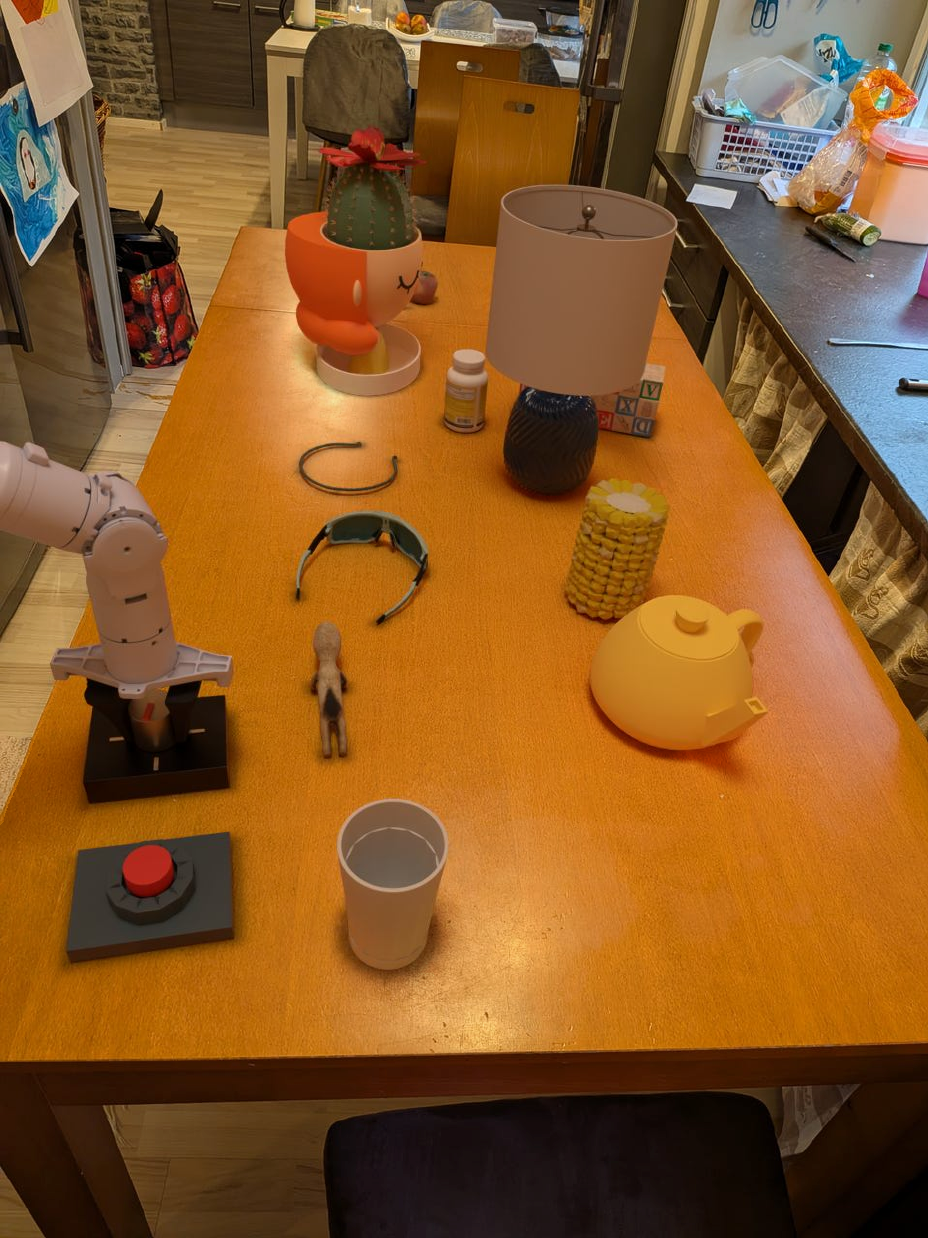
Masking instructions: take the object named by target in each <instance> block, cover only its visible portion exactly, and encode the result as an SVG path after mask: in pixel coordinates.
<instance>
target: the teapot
mask: <svg viewBox="0 0 928 1238" xmlns="http://www.w3.org/2000/svg"><path fill="white" fill-rule="evenodd" d="M740 630H742V631H741V633H740ZM763 630H764V621H763V619H762V618H761V617H760V615H759V614H758V613H756V612H755V611H753V610H751V609H747V608H741V609H738V610H735V611H733V612H731V613H729V614H728V615H727V613H725V612H724V611H722V610H721V609H720V608H718V607H717V606H716V605H713V604H712V603H711V602H710V603H709V602H707V601H705V600H703V599H700V598H697V597H694V596H689V595H682V594H681V595H679V594H672V595H671V594H668V595H663V596H662V595H661V596H658V597H654V598H652V599H650V600H648V601H646V602H643V603H642V604H641V605H640V606H639V607H637V608H636V609H634V610H633V611H631V612H630V613H628V614H627V615H625V616H624V617H623V618H620V619H619V620H618V621H617V622H616V623H614V625H612V626H611V628H610V629H609V630H608V631H607V632H606V634H605V635H604V636H603V638H602V639H601V641H600V642H599V644H598V646H597V648H596V650H595V651H594V654H593V657H592V659H591V663H590V666H589V672H588V673H589V674H588V677H589V679H588V680H589V685H590V690H591V692H592V695H593V697H594V700H595V702H596V703H597V705H598V706H599V708H600V710H602V712H603V714H604V715H606V717H607V718H608V719H609V720H610V721H611V722H612V723H613V724H614V725H615V726H616V727H617V728H618V729H620V730H621V731H622V732H623V733H625V734H626V735H628V736H629V737H631V738H632V739H634V740H636V741H638V742H640V743H642V744H645V745H647V746H651V747H654V748H657V749H663V750H669V751H693V750H699V749H705V748H708V747H712V746H716V745H718V744H721V743H726V742H730V741H733V740H735V739H737V738H738V737H739V736H741V735H742V734H744V732H746V731H747V730H748V729H750V728H751V727H752V726H754V725H755V724H756V723H757V722H758V721H759V720H761V719H762V718H763V717H765V716H766V715H767V714H768V713H769V710H768V709H767V708H766V707H765V706H764V704H763V703H762V702H761V700H760V699H759V698H758V696H753V691H754V689H753V688H754V680H753V669H752V667H753V666H754V663H755V656H754V653H753V650H754V648H755V646H756V644H757V643H758V641H759V639H760V637H761V636H762V633H763Z"/></svg>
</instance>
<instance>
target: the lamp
mask: <svg viewBox="0 0 928 1238" xmlns="http://www.w3.org/2000/svg"><path fill="white" fill-rule="evenodd" d="M498 218H499V219H498V226H497V235H496V236H497V237H496V246H495V255H494V265H493V275H492V283H491V292H490V293H491V294H490V304H489V311H488V312H489V313H488V320H487V321H488V322H487V331H486V342H485V358H486V359H487V361H488V363H489V364H490V365H491V367H492V368H494V369H495V370H496V371H497V372H499V373H500V374H501V375H503V376H504V377H506V378H509V379H510V380H511V381H514V382H516V383H518V384H520V383H521V384H523V385H526V386H528V387H526V388H525V389H523V390H522V391H521V393H520V394H519V393H518V396H517V398H516V400H515V401H514V403H513V406H512V408H511V410H510V413H509V416H508V420H507V425H506V429H505V432H504V439H503V447H502V455H503V457H502V458H503V464H504V468H505V470H506V472H507V475H509V476H510V478H511V480H513V482H514V483H516V484H517V485H518V486H519V487H521V488H522V489H526V491H530V493H535V494H536V495H541V496H547V497H551V496H561V495H565V494H568V493H571V492H573V491H574V490H576V489H578V488H579V487H581V486H582V485H583V484H584V483H585V482H586V480H587V479H588V477H589V476H590V474H591V472H592V469H593V465H594V464H595V458H596V455H597V448H598V441H599V431H600V430H599V428H598V427H599V423H598V412H597V408H596V404H595V402H594V400H593V398H592V397H590V396H591V395H604V394H610V393H615V392H619V391H622V390H625V389H628V388H630V387H632V386H633V385H635V384H636V383H637V382H638V381H640V379H641V378H642V376H643V373H644V369H645V364H647V359H648V356H649V351H650V347H651V343H652V338H653V333H654V330H655V325H656V320H657V316H658V312H659V307H660V303H661V298H662V294H663V290H664V285H665V281H666V276H667V272H668V268H669V263H670V259H671V254H672V250H673V246H674V242H675V237H676V233H677V228H678V220H677V218H676V217H675V215H674V214H673V213H672V212H670V210H668V209H666V208H665V207H663V206H661V205H659V204H657V203H655V202H653V201H651V200H648V199H645V198H642V197H640V196H636V195H632V194H629V193H624V192H621V191H616V190H611V189H606V188H600V187H593V186H585V185H574V184H539V185H530V186H525V187H520V188H516V189H513V190H511V191H509V192H507V193H506V194H504V195H503V196H502V198H501V199H500V207H499V217H498Z"/></svg>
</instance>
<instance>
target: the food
mask: <svg viewBox="0 0 928 1238" xmlns="http://www.w3.org/2000/svg"><path fill="white" fill-rule="evenodd" d="M669 510H670V505H669V504H668V503H667V502H666V495H663V494H659V493H657V490H656V489H654V488H653V487H647V486H646V485H644V484H643V483H642V482H636V483H632V482H630V481H629V480H628V479H625V480H621V481H620V480H619V479H617V477H614V478H610V479H608V480H605V479H602V480H600V482H598V483H597V484H596V485H595V486H594V485H590V488H589V489H588V491H587V494H586V496H585V504H584V505H583V508H582V510H581V518H580V520H579V528H578V529H577V531H576V536H575V544H574V546H573V547H572V550H573V552H572V554H571V559H570V561H571V564H570V566H569V568H568V569H569V571H568V573H567V578H565V580H566V586H565V590H564V591H565V592H566V595H567V599H568V600H569V602H570V604H571V605H575V608H576V611H577V613H579V614H586V615H588V616H589V617H590V618H592V619H593V618H597V617H599V618H600V619H602V620H603V621H606V620H609V619H611V618H613V617H614V618H615V619H622V618H623V617H624V616H625V615H627V614H628V613H630V612H631V611H633V610H634V609H636V608H637V607H639V606H640V605H642V604H644V599H645V598H646V594H647V593H648V589H649V588H650V586H651V580H652V578H653V575H654V574H653V571H654V570H655V565H656V564H657V561H658V559H659V558H658V555H659V550H660V547H661V544H662V542H663V538H664V535H665V531H666V527H667V525H668V523H667V521H668V519H669V513H668V512H669Z"/></svg>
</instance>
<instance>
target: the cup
mask: <svg viewBox="0 0 928 1238" xmlns="http://www.w3.org/2000/svg"><path fill="white" fill-rule="evenodd" d="M449 851H450V841H449V835H448V831H447V830H446V828H445V826H444V823H442V821H441V820H440V818H439V817H438V816H437V815H436V814H435V813H434V812H433V811H431V810H430V809H429V808H427V807H426V806H424V805H422V804H421V803H418V802H415V801H412V800H410V799H409V800H408V799H403V798H383V799H382V798H381V799H378V800H373V801H370V802H368V803H365V804H363V805H362V806H360V807H359V808H357V809H356V810H353V812H352V813H351V814H349V816H348V817H347V818H346V819H345V821H344V822H343V823H342V825H341V827H340V829H339V832H338V835H337V839H336V852H337V853H336V854H337V858H338V865H339V870H340V875H341V877H340V878H341V881H342V887H343V888H342V889H343V894H344V901H345V902H344V903H345V909H346V915H347V916H346V917H347V923H348V942H349V945H350V947H351V949H352V950H351V951H352V952H353V953H354V955H355V956H356V957H357V958H358V959H359V960H360V961H361V962H363V963H364V964H365V965H367V966H369V967H370V968H371V967H372V968H374V969H377V970H384V971H392V970H398V969H401V968H405V967H407V966H409V965H410V964H412V963H413V962H415V961H416V960H417V959H418V958H419V957H420V956H421V954H422V953H423V952H424V949H425V948H426V945H427V943H428V938H429V928H430V924H431V921H432V917H433V913H434V909H435V904H436V901H437V897H438V892H439V888H440V884H441V882H442V877H443V874H444V870H445V867H446V863H447V860H448V856H449Z"/></svg>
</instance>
